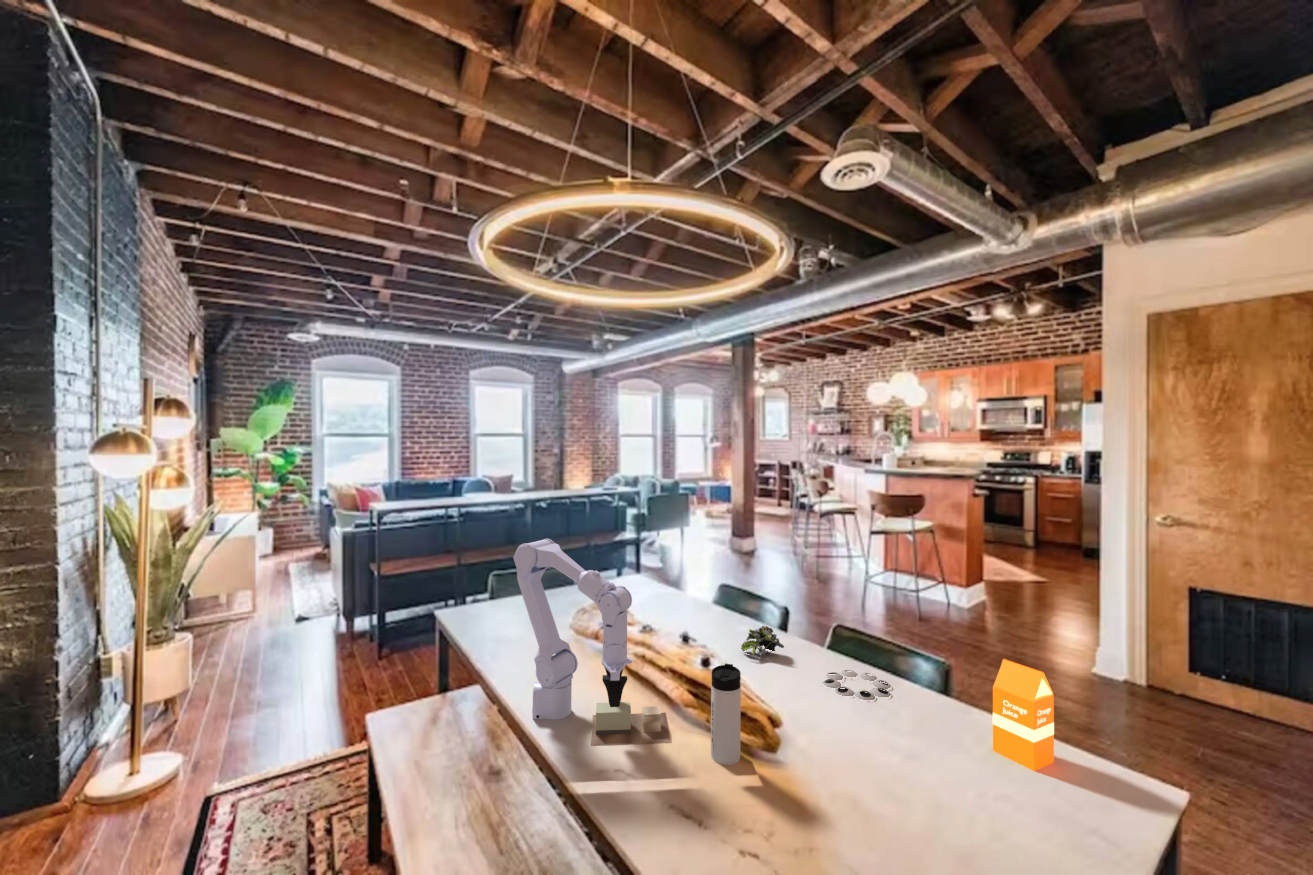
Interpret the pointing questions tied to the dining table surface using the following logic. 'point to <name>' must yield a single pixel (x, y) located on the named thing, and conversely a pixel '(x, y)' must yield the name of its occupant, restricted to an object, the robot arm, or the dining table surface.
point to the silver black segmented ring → (857, 694)
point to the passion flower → (761, 640)
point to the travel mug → (725, 714)
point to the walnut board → (633, 733)
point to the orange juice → (1023, 716)
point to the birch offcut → (651, 719)
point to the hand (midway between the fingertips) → (614, 698)
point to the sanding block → (613, 719)
